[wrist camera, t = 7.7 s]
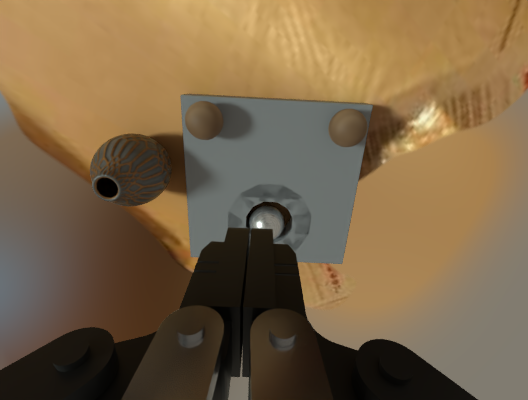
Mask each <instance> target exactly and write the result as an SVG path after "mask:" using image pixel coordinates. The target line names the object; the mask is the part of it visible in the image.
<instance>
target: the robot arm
mask: <svg viewBox="0 0 528 400" xmlns="http://www.w3.org/2000/svg"><path fill="white" fill-rule="evenodd" d="M242 346H243V370H242V372H243V373H242V376H243V377H249V396H248V400H478V399H476V398H475V397H473V396H472V395H471V394H469V393H468V392H467V391H465V390H464V389H462V388H461V387H460V386H459V385H457V384H456V383H455V382H453V381H452V380H450V379H449V378H448V377H446V376H445V375H444V374H442V373H441V372H440V371H438V370H436V368H434V367H433V366H431V365H430V364H429V363H427V362H426V361H425V360H423V359H422V358H421V357H419V356H418V355H416V354H415V353H414V352H413V351H411V350H409V349H408V348H407V347H405V346H403V345H401V344H399V343H396V342H393V341H389V340H384V339H375V340H370V341H368V342H366V343H364V344H363V345H362V346H361V347H360V348H359V350H354V349H351V348H348V347H345V346H342V345H339V344H336V343H334V342H331V341H329V340H327V339H325V338H324V337H322V336H321V335H320V334H319V333H317V332H316V331H315V330H314V329H313V327H312V325H311V324H310V322H309V321H308V320H307V316H306V312H305V306H304V300H303V294H302V288H301V281H300V276H299V269H298V263H297V257H296V253H295V252H294V251H293V250H292V248H291V247H290V246H289V245H288V244H273V229H262V228H251V237H250V228H235V227H228V229H227V233H226V237H225V241H224V242H216V241H211V242H210V243H209V244H208V245H207V246H206V247H204V248H203V249H202V250H201V253H200V256H199V258H198V262H197V264H196V266H195V269H194V272H193V274H192V277H191V280H190V283H189V285H188V287H187V290H186V293H185V295H184V298H183V301H182V303H181V306H180V309H179V310H177V311H175V312H173V313H172V314H170V315H169V316H168V317H167V318H166V319H165V320H164V321H163V322H162V323H161V325H160V327H159V329H158V330H157V331H156V332H154V333H152V334H149V335H147V336H143V337H139V338H135V339H131V340H126V341H122V342H118V343H114V340H113V337H112V335H111V334H110V333H109V332H108V331H106V330H104V329H100V328H95V327H90V328H82V329H78V330H74V331H72V332H69V333H67V334H65V335H63V336H61V337H59V338H57V339H55V340H53V341H52V342H50V343H48V344H46V345H45V346H43V347H41V348H39V349H37V350H36V351H34V352H32V353H30V354H29V355H27V356H25V357H23V358H21V359H20V360H18V361H16V362H14V363H12V364H11V365H9V366H7V367H5V368H3V369H2V370H0V400H228V395H229V387H230V379H231V377H240V368H241V357H242Z"/></svg>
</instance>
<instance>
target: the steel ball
mask: <svg viewBox="0 0 528 400" xmlns="http://www.w3.org/2000/svg"><path fill="white" fill-rule="evenodd" d="M249 226H250V230H251V228H262V229H273V239H276V238H277V237H278V236H279V235H280V234H281V233H282V231H283V229H284V218H283V215H282V214H281V212H280V211H279V210H278V209H276V208H275V207H272V206H261V207H259V208H257V209H256V210H255V211H254V212H253V213H252V215H251V217H250V220H249Z"/></svg>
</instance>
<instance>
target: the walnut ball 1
mask: <svg viewBox="0 0 528 400" xmlns="http://www.w3.org/2000/svg"><path fill="white" fill-rule="evenodd" d="M185 124H186V127H187V129H188V131H189V132H190V133H191V134H192V135H193V136H194V137H196V138H198V139H201V140H210V139H213V138H215V137H216V136H217V135H218V134H219V133H220V132H221V130H222V127H223V116H222V113H221V111H220V110H219V108H218V107H217V106H216V105H214V104H213V103H211V102H208V101H199V102H196V103H194V104H192V105H191V106H190V107H189V108H188V110H187V112H186V115H185Z"/></svg>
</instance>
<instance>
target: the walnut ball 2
mask: <svg viewBox="0 0 528 400" xmlns="http://www.w3.org/2000/svg"><path fill="white" fill-rule="evenodd" d="M328 132H329V136H330V138H331V140H332V141H333V142H334V143H335V144H337V145H338V146H341V147H352V146H355V145H357V144H358V143H360V142H361V141H362V140H363V138H364V137H365V135H366V132H367V121H366V118H365V117H364V115H363V114H362V113H361V112H359V111H357V110H355V109H344V110H341V111H339V112H337V113H336V114H335V115H334V116H333V117H332V119H331V120H330V123H329V127H328Z"/></svg>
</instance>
